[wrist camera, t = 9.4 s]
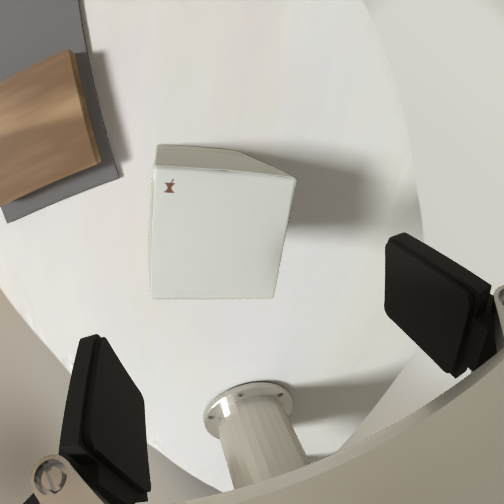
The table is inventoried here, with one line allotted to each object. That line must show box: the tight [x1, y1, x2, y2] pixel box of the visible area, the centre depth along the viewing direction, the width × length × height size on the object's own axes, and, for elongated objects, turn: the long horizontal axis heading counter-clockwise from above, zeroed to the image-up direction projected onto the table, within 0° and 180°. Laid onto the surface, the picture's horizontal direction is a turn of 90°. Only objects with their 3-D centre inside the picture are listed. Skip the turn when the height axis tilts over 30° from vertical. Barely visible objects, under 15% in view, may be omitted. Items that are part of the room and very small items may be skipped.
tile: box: [0, 49, 101, 207], centre depth 20 cm, size 2×10×10 cm
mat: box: [0, 0, 119, 223], centre depth 19 cm, size 24×12×1 cm, turn 12°
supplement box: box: [148, 145, 297, 299], centre depth 22 cm, size 7×7×13 cm
